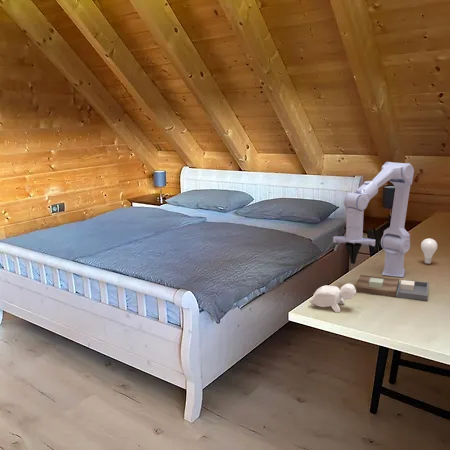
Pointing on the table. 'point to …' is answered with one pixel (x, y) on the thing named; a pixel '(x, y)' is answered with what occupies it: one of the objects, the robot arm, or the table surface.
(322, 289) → the white turtle figurine
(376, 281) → the tile green
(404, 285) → the tile cream
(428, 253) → the lightbulb
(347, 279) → the table surface
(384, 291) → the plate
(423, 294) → the box
